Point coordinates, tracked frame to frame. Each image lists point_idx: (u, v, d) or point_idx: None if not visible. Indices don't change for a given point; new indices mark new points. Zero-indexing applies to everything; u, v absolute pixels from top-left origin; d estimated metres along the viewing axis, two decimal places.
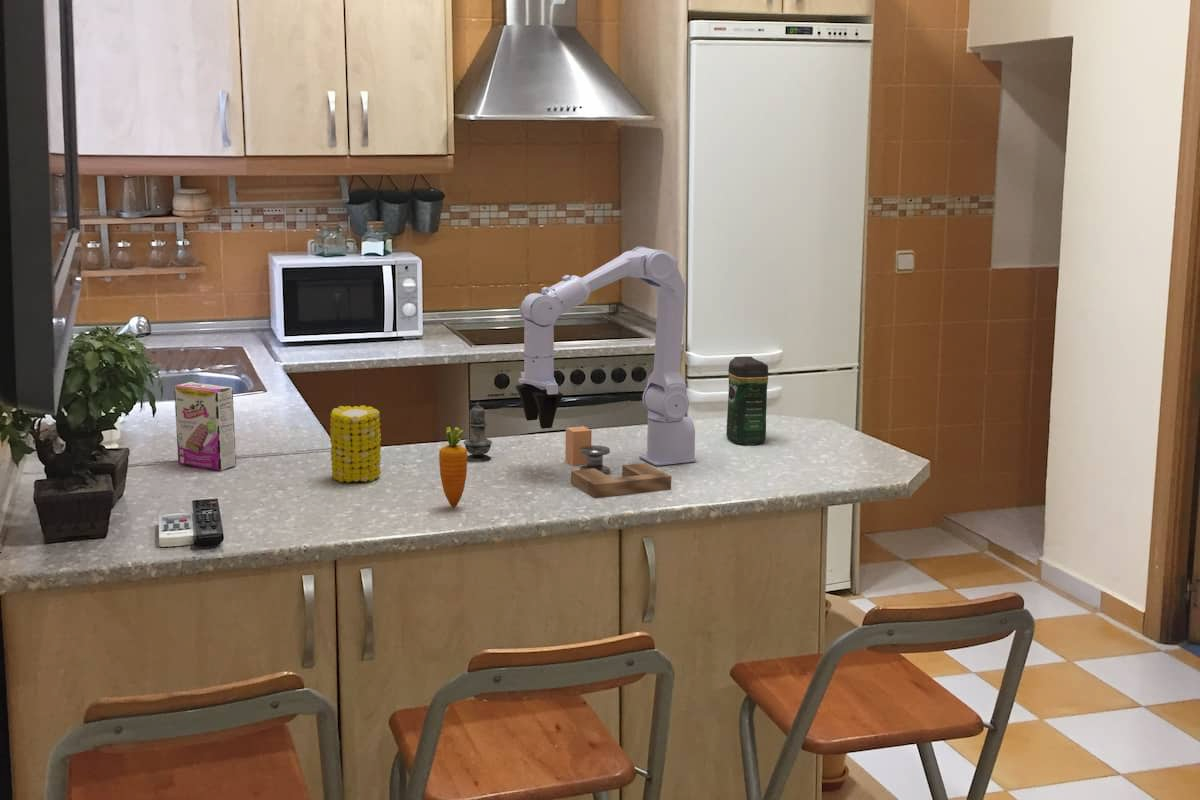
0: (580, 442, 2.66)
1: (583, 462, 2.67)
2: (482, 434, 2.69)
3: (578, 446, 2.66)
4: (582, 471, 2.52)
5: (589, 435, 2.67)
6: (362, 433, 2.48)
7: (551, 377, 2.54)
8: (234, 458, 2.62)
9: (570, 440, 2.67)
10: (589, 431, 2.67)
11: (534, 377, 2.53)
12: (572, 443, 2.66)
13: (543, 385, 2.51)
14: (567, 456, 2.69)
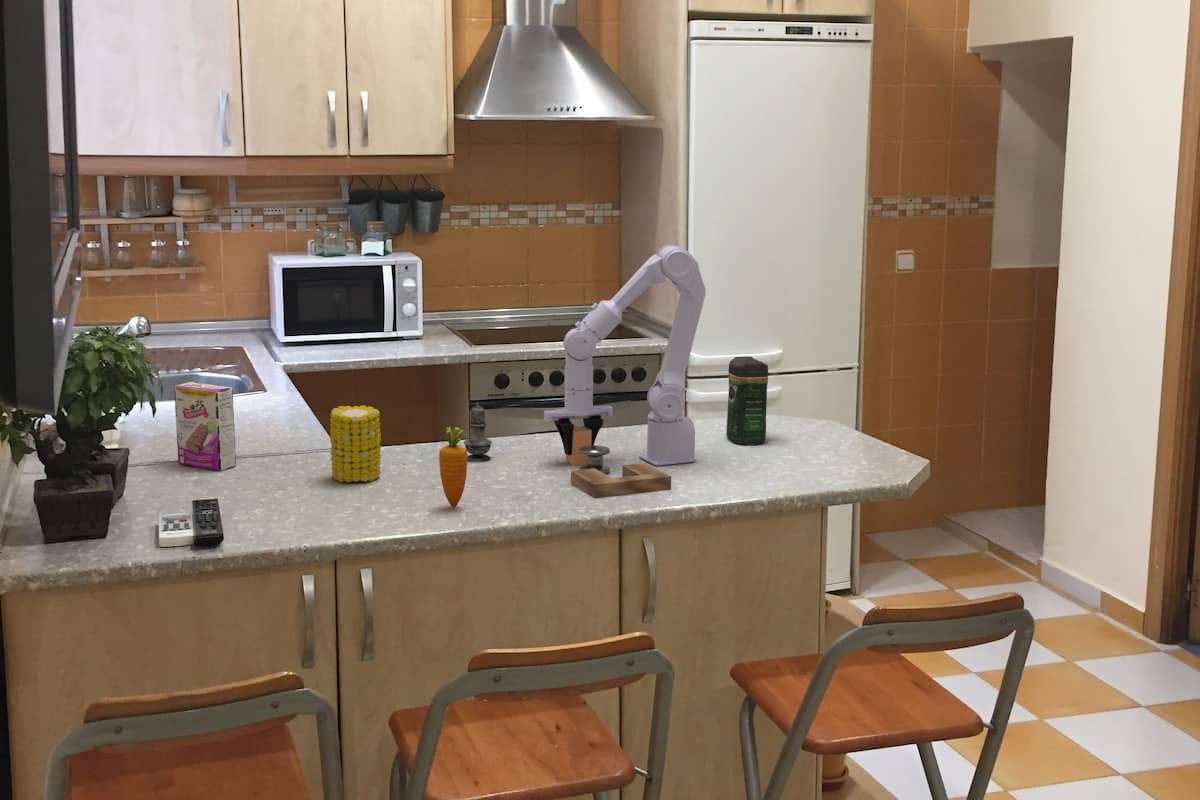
0: (580, 442, 2.66)
1: (583, 462, 2.67)
2: (482, 434, 2.69)
3: (578, 446, 2.66)
4: (582, 471, 2.52)
5: (589, 434, 2.67)
6: (362, 433, 2.48)
7: (571, 409, 2.64)
8: (234, 458, 2.62)
9: None
10: (589, 431, 2.67)
11: None
12: (572, 443, 2.66)
13: None
14: (567, 456, 2.69)
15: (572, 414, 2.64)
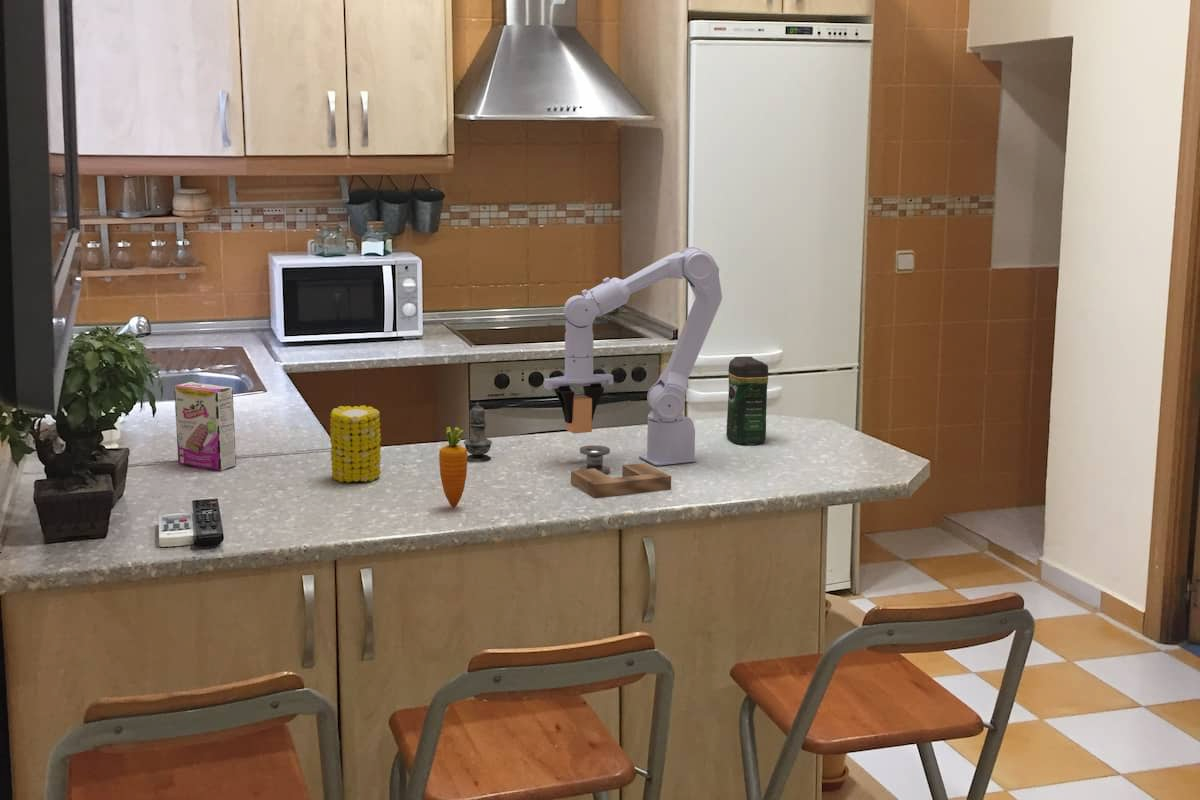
0: (581, 410, 2.65)
1: (583, 430, 2.66)
2: (482, 434, 2.69)
3: (578, 414, 2.65)
4: (582, 471, 2.52)
5: (589, 403, 2.65)
6: (362, 433, 2.48)
7: (572, 377, 2.63)
8: (234, 458, 2.62)
9: None
10: (589, 399, 2.65)
11: None
12: (572, 411, 2.65)
13: None
14: (567, 424, 2.68)
15: (572, 381, 2.63)
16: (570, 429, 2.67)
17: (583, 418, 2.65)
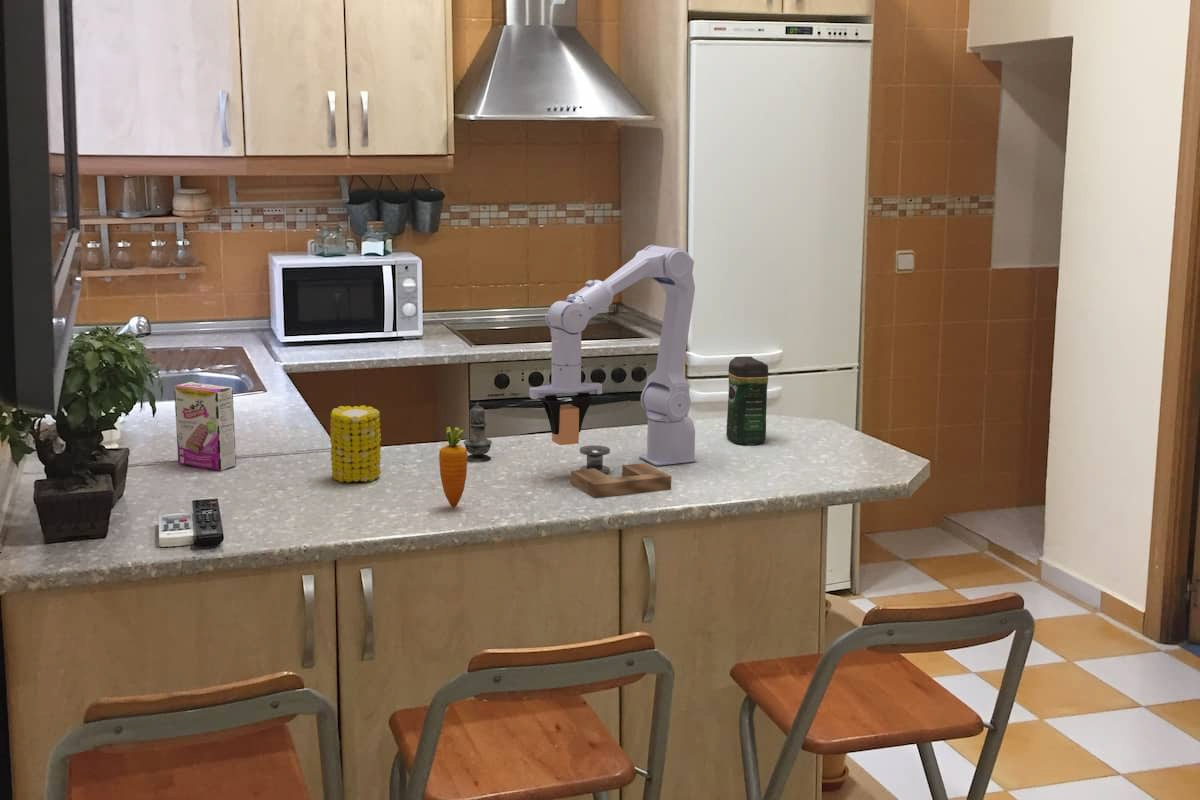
0: (567, 420, 2.54)
1: (570, 442, 2.55)
2: (482, 434, 2.69)
3: (564, 425, 2.54)
4: (582, 471, 2.52)
5: (576, 413, 2.54)
6: (362, 433, 2.48)
7: (558, 386, 2.52)
8: (234, 458, 2.62)
9: None
10: (576, 409, 2.54)
11: None
12: None
13: None
14: (553, 435, 2.56)
15: (559, 391, 2.51)
16: (556, 440, 2.55)
17: (570, 429, 2.54)
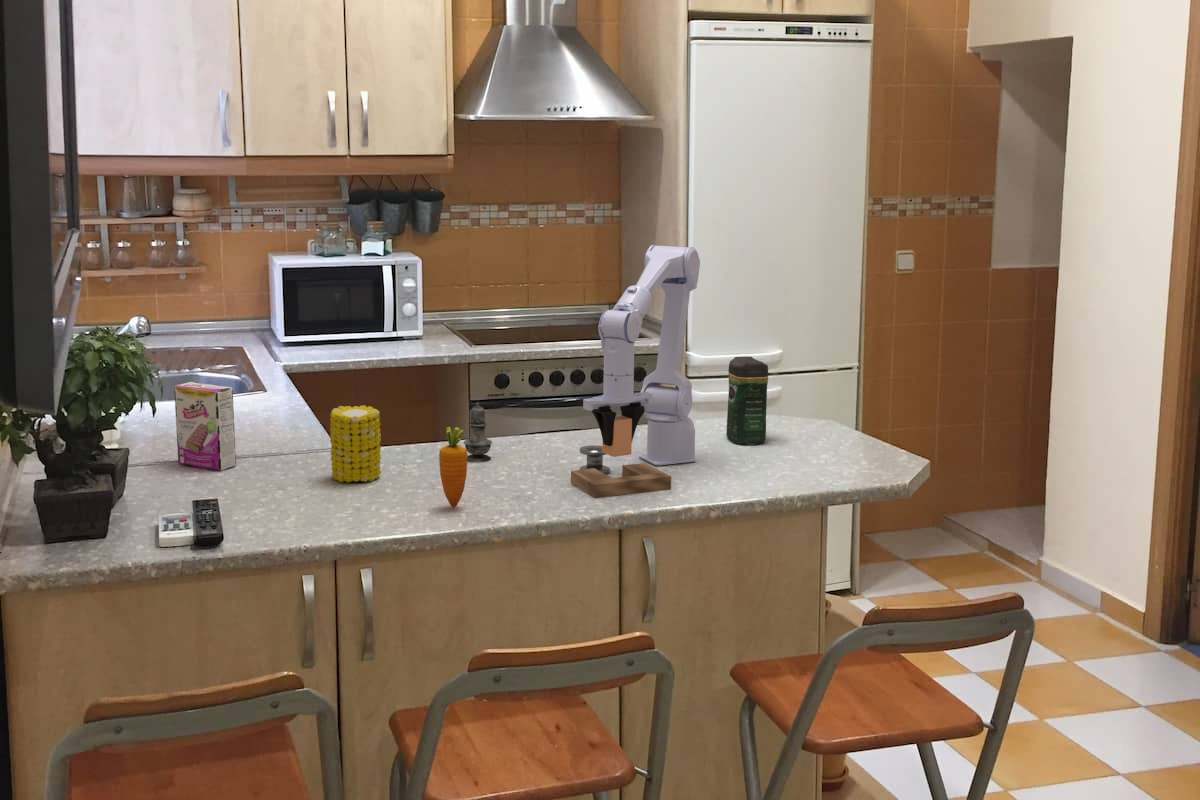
0: (621, 431, 2.49)
1: (623, 453, 2.50)
2: (482, 434, 2.69)
3: (618, 436, 2.49)
4: (582, 471, 2.52)
5: (629, 423, 2.50)
6: (362, 433, 2.48)
7: (613, 397, 2.47)
8: (234, 458, 2.62)
9: None
10: (629, 419, 2.49)
11: (603, 392, 2.49)
12: None
13: None
14: (605, 447, 2.51)
15: (614, 401, 2.46)
16: (609, 452, 2.50)
17: (623, 440, 2.50)
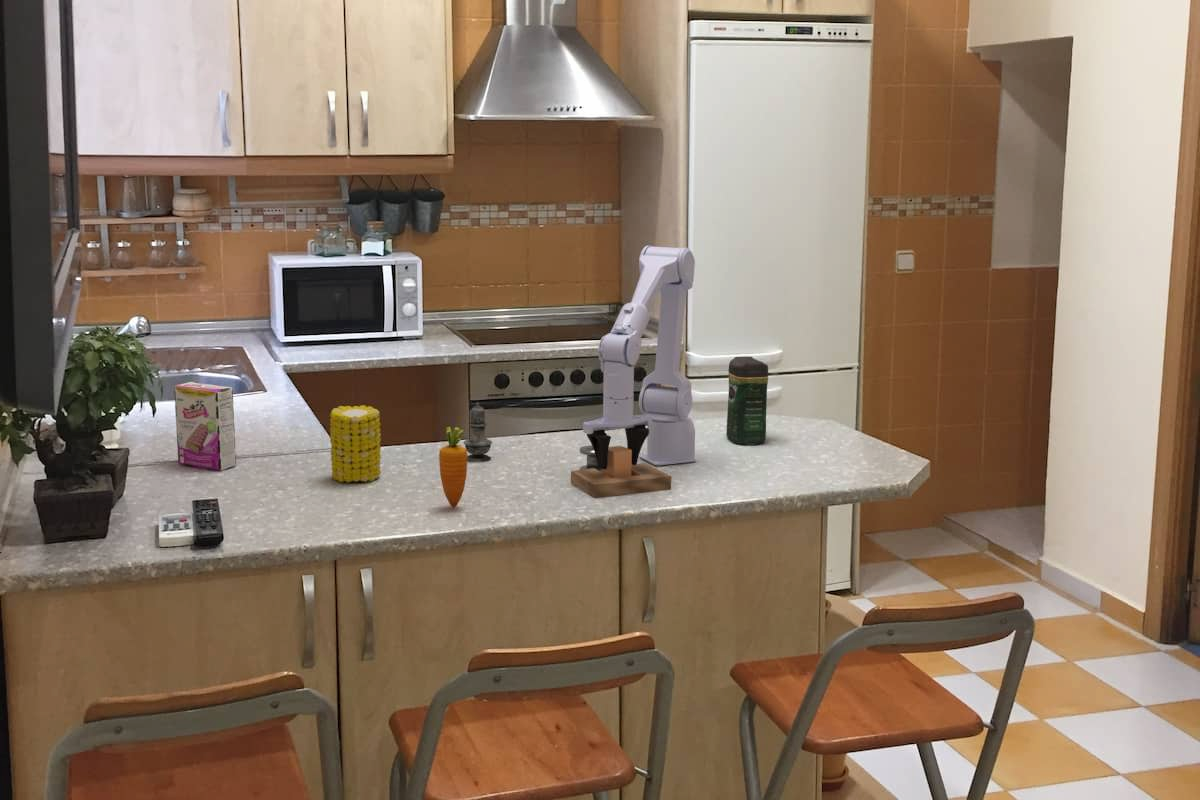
0: (621, 462, 2.50)
1: None
2: (482, 434, 2.69)
3: (618, 467, 2.50)
4: (582, 471, 2.52)
5: (629, 454, 2.51)
6: (362, 433, 2.48)
7: (612, 420, 2.47)
8: (234, 458, 2.62)
9: (610, 461, 2.50)
10: (629, 451, 2.51)
11: None
12: (612, 464, 2.50)
13: None
14: None
15: (614, 425, 2.47)
16: None
17: (623, 471, 2.51)
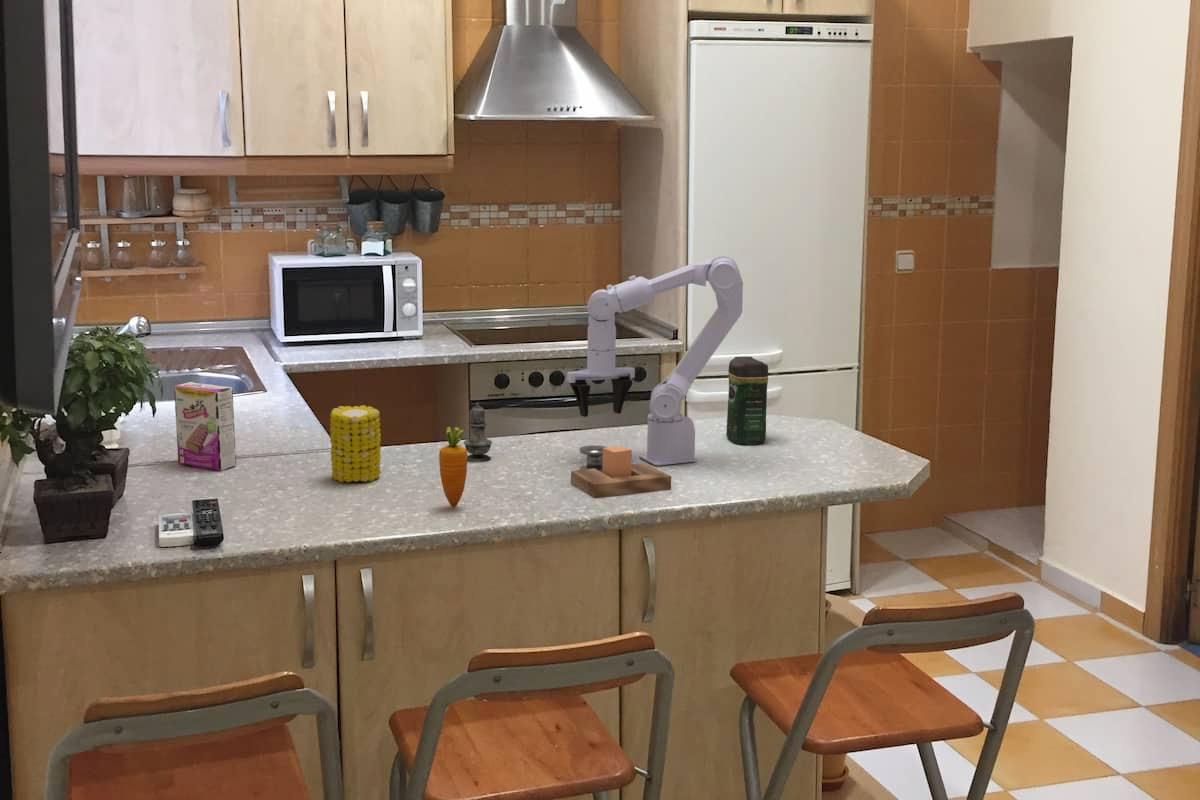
0: (620, 462, 2.50)
1: None
2: (482, 434, 2.69)
3: (618, 467, 2.50)
4: (582, 471, 2.52)
5: (629, 454, 2.51)
6: (362, 433, 2.48)
7: (594, 370, 2.66)
8: (234, 458, 2.62)
9: (610, 461, 2.50)
10: (629, 451, 2.51)
11: None
12: (612, 464, 2.50)
13: None
14: None
15: (595, 375, 2.65)
16: None
17: (623, 471, 2.51)
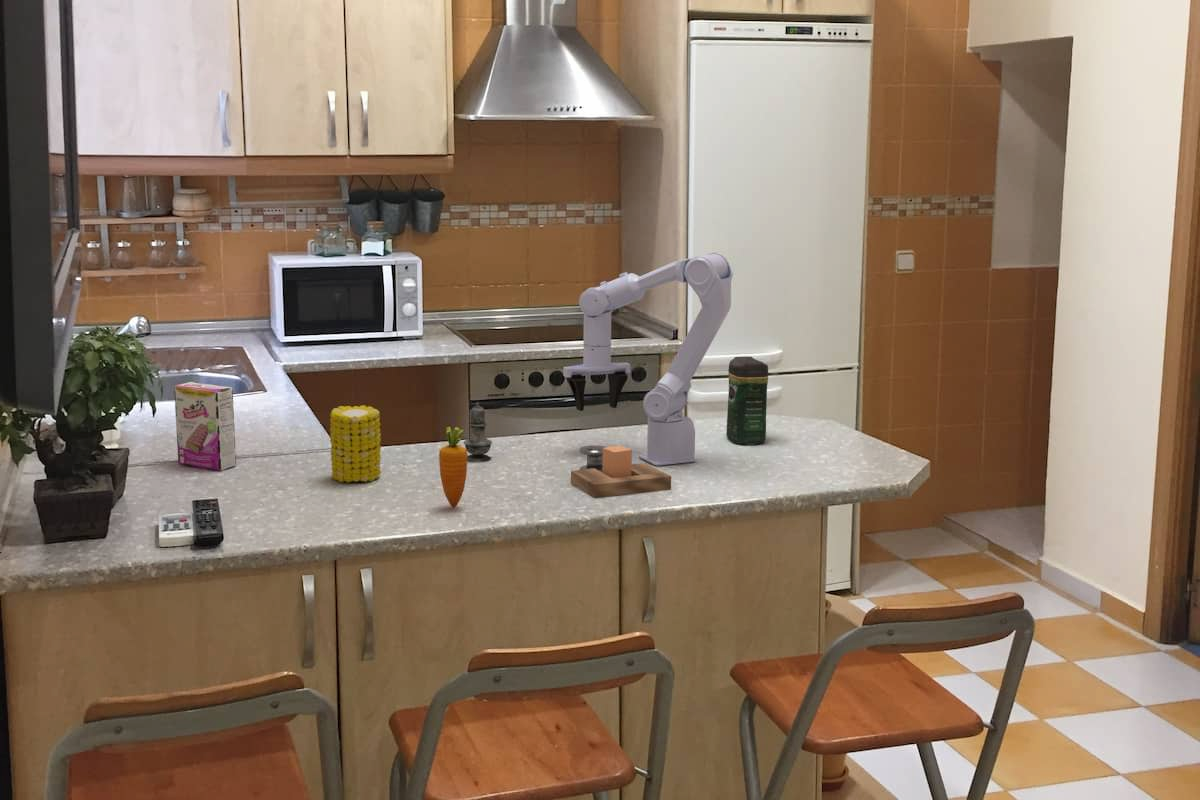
0: (620, 462, 2.50)
1: None
2: (482, 434, 2.69)
3: (618, 467, 2.50)
4: (582, 471, 2.52)
5: (629, 454, 2.51)
6: (362, 433, 2.48)
7: (590, 365, 2.72)
8: (234, 458, 2.62)
9: (610, 461, 2.50)
10: (629, 451, 2.51)
11: None
12: (612, 464, 2.50)
13: None
14: None
15: (591, 370, 2.71)
16: None
17: (623, 471, 2.51)
